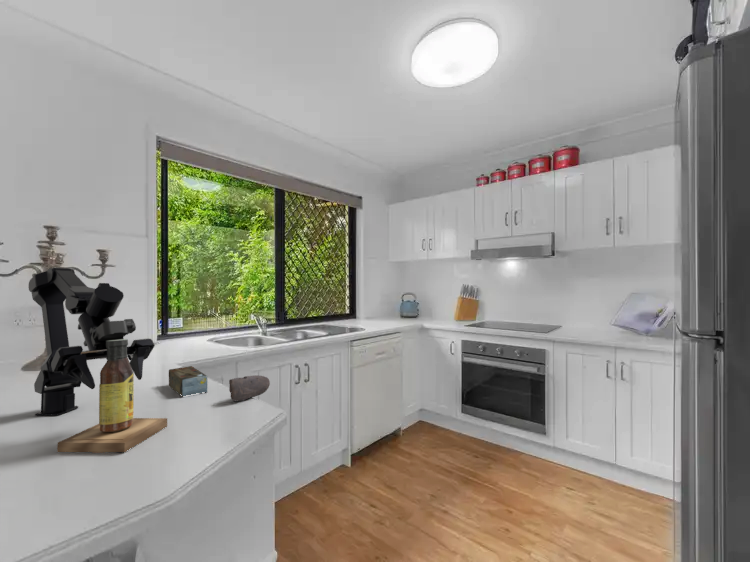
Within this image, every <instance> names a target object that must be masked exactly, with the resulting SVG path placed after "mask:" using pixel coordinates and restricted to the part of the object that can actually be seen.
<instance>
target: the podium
mask: <svg viewBox="0 0 750 562" xmlns="http://www.w3.org/2000/svg"><path fill="white" fill-rule="evenodd" d="M132 420H133V423H132V425H131V426H130V427H128V428H126V429H124V430H119V431H115V432H107V433H106V432H101V431H100V424H99V423H97V424H95V425H93V426H90V427H89V428H86V429H84V430H82V431H79V432H78V433H75V434H73V435H71V436H69V437H66V438H65V439H63V440H60V441H58V442H57V445H56V446H57V448H56V449H57V450H56V451H57V452H92V453H91V454H93V453H94V454H96V453H97V454H106V453H105V452H125V453H127V452H128V451H130V450H131V449H130V448H132V447H133V448H135V447H136V446H135V445H137V444H138V445H140V444H142V443H143V442H145V441H146V440H148V439H149V437H150V438H151V437H153V436H155V435H156V434H158V433H159V432H160V430H161V431H163V430H164V429H166V428H167V427H168V418H167V417H164V418H163V417H159V418H158V417H156V418H155V417H154V418H153V417H152V418H151V417H150V418H149V417H143V418H142V417H141V418H140V417H138V418H137V417H133V419H132ZM165 427H166V428H165ZM163 428H164V429H163ZM162 429H163V430H162ZM157 432H158V433H157ZM155 433H156V434H155ZM152 435H153V436H152ZM147 438H148V439H147ZM144 440H145V441H144ZM142 441H143V442H142ZM139 443H140V444H139ZM138 445H137V446H138ZM134 446H135V447H134ZM133 448H132V449H133ZM129 449H130V450H129ZM127 450H128V451H127ZM126 451H127V452H126ZM103 452H104V453H103Z"/></svg>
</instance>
